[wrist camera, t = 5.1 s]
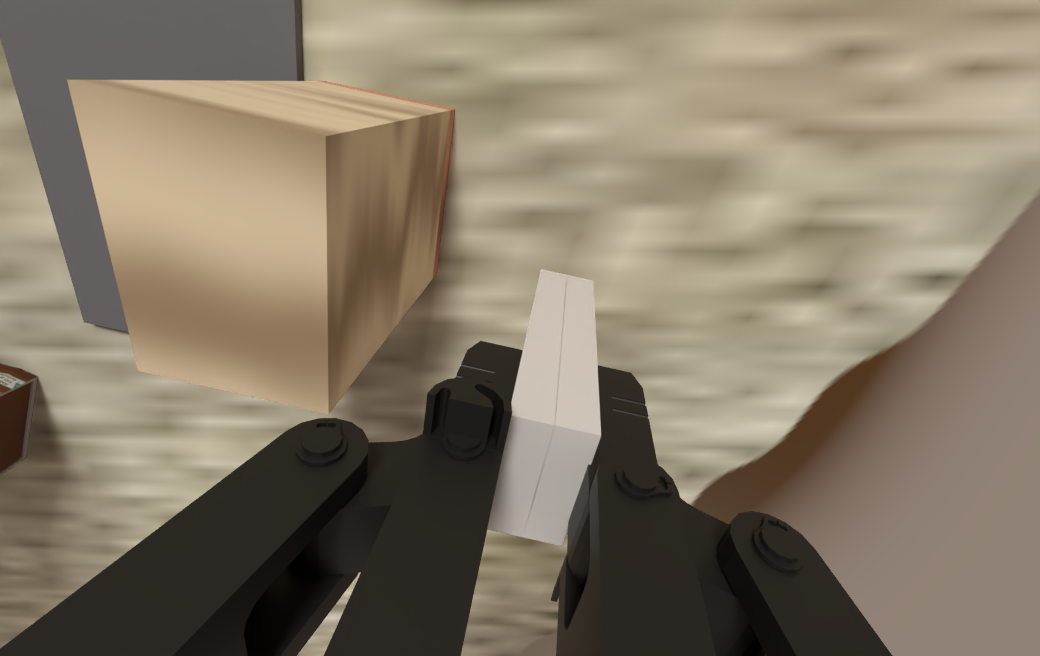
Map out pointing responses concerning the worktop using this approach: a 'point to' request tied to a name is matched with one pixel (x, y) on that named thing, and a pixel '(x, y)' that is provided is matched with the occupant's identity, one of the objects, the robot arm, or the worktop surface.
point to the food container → (15, 414)
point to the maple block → (264, 225)
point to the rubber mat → (126, 56)
